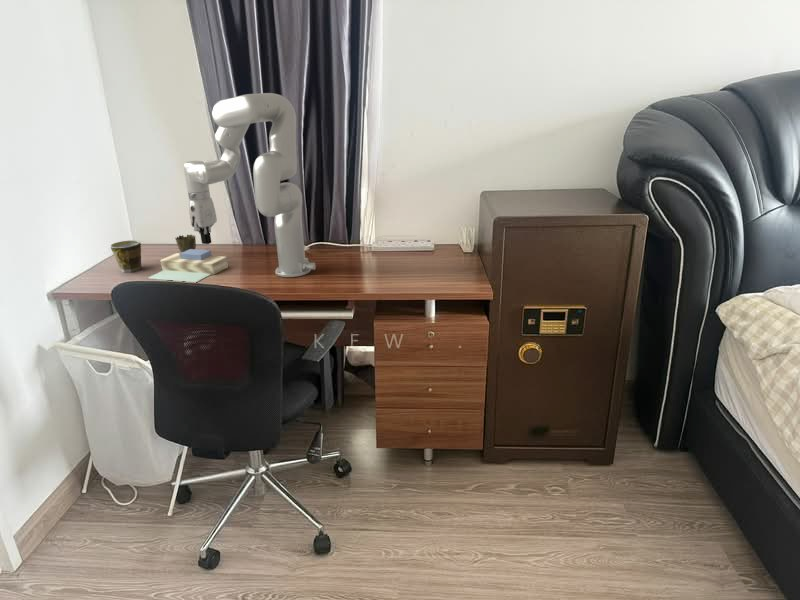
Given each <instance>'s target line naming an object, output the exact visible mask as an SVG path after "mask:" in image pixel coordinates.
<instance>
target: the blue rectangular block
mask: <svg viewBox="0 0 800 600" xmlns="http://www.w3.org/2000/svg"><path fill="white" fill-rule="evenodd" d="M179 253H180V258H181V259H189V260H203V259H205V258H208V257H210V256H212V251H211V250H207V249H196V248H195V249H189V250H187V251H185V252H179Z"/></svg>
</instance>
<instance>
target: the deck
mask: <svg viewBox="0 0 800 600" xmlns="http://www.w3.org/2000/svg"><path fill="white" fill-rule="evenodd" d="M180 253H181V252H179V253H177V252H176V253H173V254H171V255H169V256H167V257H164V258H162V259H160V266H161V271H163V270H171V271H183V272H196V273H208V274H211V275H213V276H214V275H216V274H218V273H220V272H221V271H223V270H225V269H227V268H228V267H229V266H228V259H227V256H222V255H221V256H220V255H211V256H210V257H208V258H205V259H203V260H189V259H181V258H180ZM211 275H210V276H211Z"/></svg>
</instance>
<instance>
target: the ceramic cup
mask: <svg viewBox="0 0 800 600" xmlns="http://www.w3.org/2000/svg"><path fill="white" fill-rule="evenodd" d="M109 246H110V251H111V252H112V255H113V256H114V258H115V261H116V263H117V264H118V265H117V266H118V267H119V270H120V271H121V272H122V273H135V272H138V271H140V269H142V245H141V241H140V240H136V239H135V240H134V239H132V240H131V239H130V240H121V241H117V242H114V243H112V244H110V245H109Z"/></svg>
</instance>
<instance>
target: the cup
mask: <svg viewBox="0 0 800 600" xmlns="http://www.w3.org/2000/svg"><path fill="white" fill-rule="evenodd" d="M174 238H175V241H176V244H177V247H178V250H179V251H180V253H182V252H185V251H187V250H189V249H196V248H197V247H196V246H197V244H196V243H197V242H196V235H195V234H194V235H193V234H192V233H191V234H187V235H186V236H184V235H178V236H176V237H174Z"/></svg>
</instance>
